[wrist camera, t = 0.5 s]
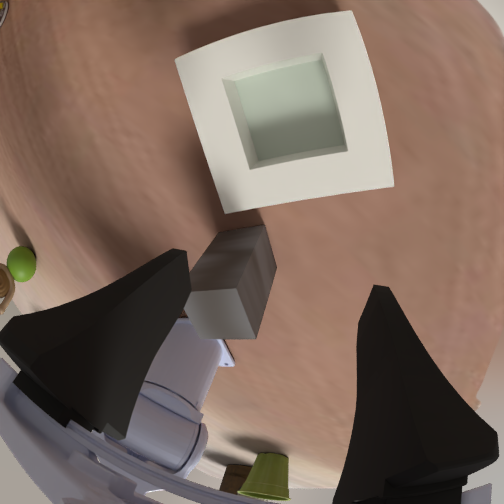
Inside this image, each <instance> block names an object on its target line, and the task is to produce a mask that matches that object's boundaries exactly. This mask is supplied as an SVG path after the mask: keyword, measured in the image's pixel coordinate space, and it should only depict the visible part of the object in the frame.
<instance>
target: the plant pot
mask: <svg viewBox="0 0 504 504" xmlns="http://www.w3.org/2000/svg"><path fill="white" fill-rule="evenodd" d="M237 492H238V493H240V494H243V495H246V496H250V497H255V498H260V499H267V500H278V501H289V500H291V499H290V498H289V489H288V458H286V457H285V456H283V455H281V454H275V453H267V454H264V453H260V454H258V456H257V458H256V460H255V462H254V465H253V467H252V469H251V471H250V473H249V475H248V477H247V479H246V481H245V483H243V485H242V487H241V489H240V490H239V491H237Z"/></svg>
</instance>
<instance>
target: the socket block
mask: <svg viewBox="0 0 504 504" xmlns="http://www.w3.org/2000/svg"><path fill="white" fill-rule="evenodd" d="M174 60H175V63H176V66H177V69H178V72H179V76H180V79H181V82H182V85H183V88H184V91H185V94H186V98H187V101H188V104H189V107H190V110H191V113H192V116H193V119H194V122H195V125H196V129H197V132H198V135H199V138H200V141H201V144H202V147H203V150H204V153H205V156H206V159H207V162H208V165H209V168H210V171H211V174H212V177H213V180H214V183H215V186H216V189H217V192H218V195H219V198H220V201H221V204H222V207H223V210H224V213H225V214H228V213H233V212H238V211H243V210H249V209H254V208H259V207H265V206H270V205H276V204H281V203H287V202H293V201H299V200H305V199H311V198H317V197H324V196H330V195H337V194H343V193H350V192H357V191H364V190H372V189H379V188H387V187H394V179H393V171H392V163H391V156H390V149H389V143H388V137H387V132H386V126H385V121H384V116H383V111H382V107H381V102H380V98H379V94H378V90H377V86H376V82H375V78H374V75H373V71H372V68H371V64H370V61H369V58H368V54H367V51H366V48H365V45H364V42H363V39H362V36H361V34H360V31H359V28H358V25H357V23H356V20H355V18H354V15H353V13H352V11H341V12H333V13H325V14H318V15H312V16H306V17H301V18H296V19H291V20H287V21H282V22H278V23H274V24H270V25H266V26H262V27H259V28H255V29H252V30H249V31H245V32H242V33H239V34H236V35H233V36H230V37H227V38H224V39H222V40H219V41H216V42H214V43H211V44H208V45H206V46H203V47H201V48H199V49H196V50H194V51H191V52H189V53H187V54H185V55H182V56H180V57H178V58H176V59H174Z"/></svg>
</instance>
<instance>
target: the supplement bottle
mask: <svg viewBox="0 0 504 504" xmlns="http://www.w3.org/2000/svg"><path fill="white" fill-rule="evenodd" d="M7 10H8V3H7V2H6V1H0V27H1V25H2V23H3V21H4V19H5V17H6V14H7Z"/></svg>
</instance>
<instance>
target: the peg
mask: <svg viewBox="0 0 504 504" xmlns="http://www.w3.org/2000/svg"><path fill="white" fill-rule="evenodd" d="M276 269H277V266H276V263H275V259H274V255H273V252H272V248H271V245H270V241H269V238H268V234H267V231H266V227H265V225H261V226H254V227H248V228H242V229H237V230H231V231H225V232H219V233H218V234H217V235H216V237H215V238H214V240H213V241H212V242H211V244H210V245H209V246H208V248H207V249H206V250H205V252H204V253H203V255H202V256H201V257H200V259H199V260H198V262H197V263H196V264H195V266H194V267H193V269H192V270H191V271H190V273H189V274H190V281H191V288H192V291H191V293H190V295H189V298H188V300H187V302H186V304H185V307H184V310H185V312H186V314H187V316H188V318H189V320H190V321H191V323H192V325H193V327H194V329H195V330H196V332H197V334H198V336H199V338H200V339H256V338H257V334H258V331H259V328H260V324H261V321H262V318H263V314H264V311H265V308H266V304H267V301H268V297H269V294H270V290H271V287H272V283H273V280H274V276H275V273H276Z"/></svg>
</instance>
